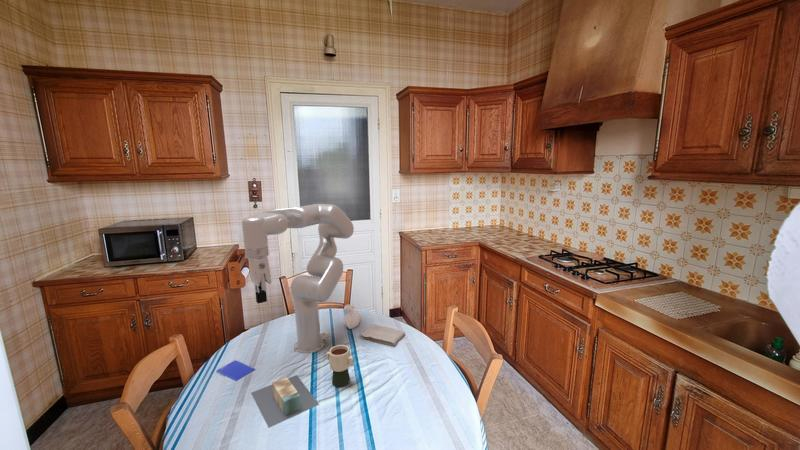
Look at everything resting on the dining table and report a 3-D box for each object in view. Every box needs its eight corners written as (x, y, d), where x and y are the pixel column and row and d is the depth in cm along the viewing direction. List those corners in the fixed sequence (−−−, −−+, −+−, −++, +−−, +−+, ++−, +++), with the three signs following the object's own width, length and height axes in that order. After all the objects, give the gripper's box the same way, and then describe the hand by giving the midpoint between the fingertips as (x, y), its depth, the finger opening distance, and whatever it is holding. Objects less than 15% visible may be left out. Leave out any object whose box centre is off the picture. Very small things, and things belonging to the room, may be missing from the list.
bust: (358, 323, 172) (345, 305, 173) (368, 317, 169) (355, 298, 170) (345, 334, 161) (331, 314, 162) (355, 328, 158) (342, 307, 159)
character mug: (359, 381, 123) (358, 347, 121) (349, 393, 117) (347, 358, 114) (334, 374, 127) (332, 342, 125) (322, 385, 121) (320, 352, 119)
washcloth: (371, 328, 163) (371, 322, 163) (405, 335, 156) (405, 329, 155) (358, 339, 153) (358, 333, 152) (394, 348, 145) (394, 341, 145)
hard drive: (216, 370, 130) (236, 380, 123) (235, 359, 137) (255, 368, 130) (216, 374, 130) (236, 384, 124) (236, 363, 137) (256, 372, 130)
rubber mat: (296, 376, 127) (296, 374, 126) (319, 406, 111) (319, 404, 111) (251, 394, 117) (251, 392, 117) (268, 429, 101) (268, 427, 101)
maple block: (286, 376, 117) (300, 395, 108) (288, 390, 118) (301, 409, 109) (272, 382, 114) (284, 402, 105) (273, 396, 115) (285, 416, 106)
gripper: (274, 254, 115) (279, 305, 118) (261, 246, 127) (266, 293, 130) (251, 258, 111) (256, 311, 114) (240, 249, 122) (245, 298, 126)
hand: (261, 301), depth 122 cm, fingers closed
